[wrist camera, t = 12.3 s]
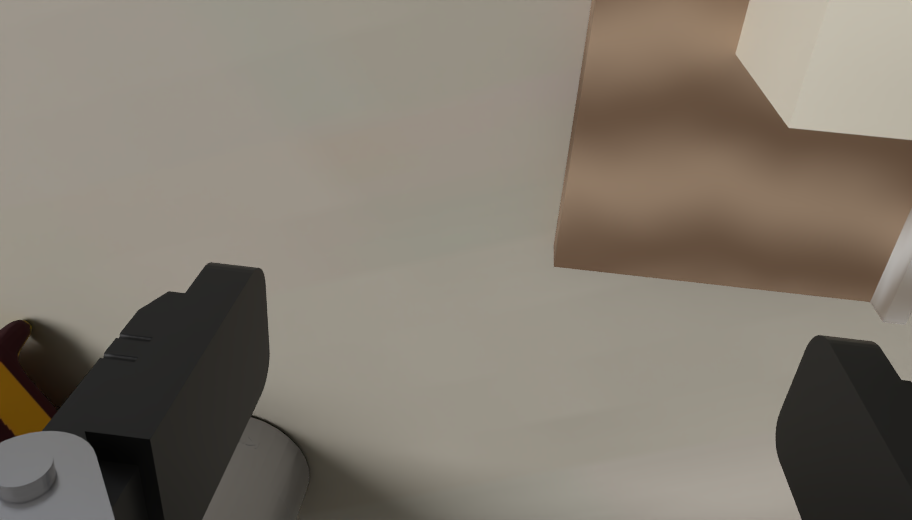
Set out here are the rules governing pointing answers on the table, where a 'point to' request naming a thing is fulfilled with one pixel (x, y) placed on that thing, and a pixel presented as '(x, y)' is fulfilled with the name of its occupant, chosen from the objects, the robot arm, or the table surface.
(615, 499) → the table surface
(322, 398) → the table surface
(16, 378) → the decorative lantern
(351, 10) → the table surface
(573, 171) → the walnut shelf
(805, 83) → the cream carton
